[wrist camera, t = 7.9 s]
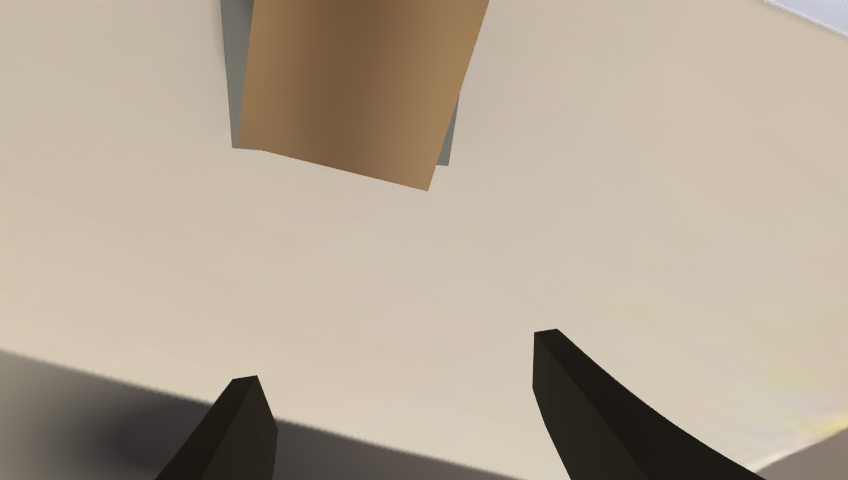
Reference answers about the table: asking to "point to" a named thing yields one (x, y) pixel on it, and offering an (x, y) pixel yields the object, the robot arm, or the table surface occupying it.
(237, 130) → the slate slab
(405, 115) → the walnut cube
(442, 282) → the table surface
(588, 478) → the robot arm
